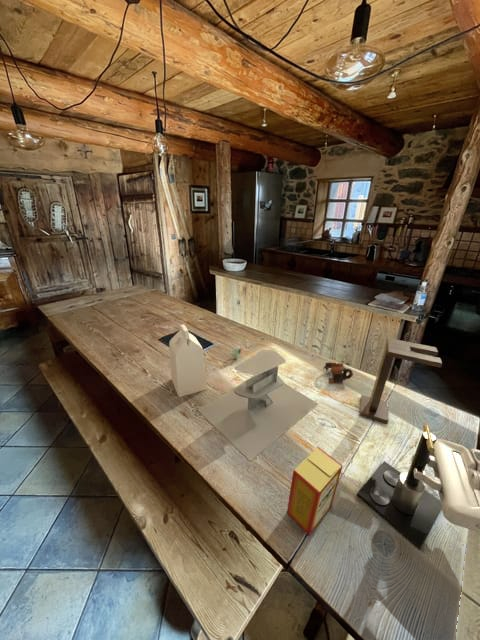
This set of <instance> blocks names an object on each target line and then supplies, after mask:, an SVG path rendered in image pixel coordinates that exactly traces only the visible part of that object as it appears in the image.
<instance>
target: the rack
mask: <svg viewBox="0 0 480 640" xmlns="http://www.w3.org/2000/svg"><path fill="white" fill-rule="evenodd" d="M438 354H439V351H438V348H437V347H436V346H431V345H426V344H421V343H416V342H411V341H405V340H400V339H396V338H390V337H387V338H386V344H385V347H384V351H383V354H382V356H381V357H382V358H381V360H380V364H379V368H378V372H377V375H376V378H375V380H374V385H373V388H372V391H371V395H370V396H367V395H363V394H361V396H360V404H359V405H360V408H359V416H361V417H364V418H367V419H371V420H374V421H377V422H381V423H383V424H387V425H388V423H389V421H390V419H389V402H388V401H385V400H382V396H383V392H384V390H385V388H386V387H385V386H386V384H387V380H388V377H389V373H390V371H391V367H392V364H393V361H394V358H396V359H399V360H403V361H409V362H414V363H418V364H422V365H427V366H432V367H436V368H442V367H443V362H442V358H441V357H438Z"/></svg>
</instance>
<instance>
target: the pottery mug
mask: <svg viewBox="0 0 480 640" xmlns="http://www.w3.org/2000/svg"><path fill="white" fill-rule="evenodd" d="M329 369H330V373H331V374H332V377H328V379H327V380H328V383H329V384H336V385H341V384H343V383H344V381H346V380H350V379H351V378H353V376H354V374H353V370H352V369H350V368H346V367H345V366H344V363H342V362H338V363H336V362H325V365H324V366H323V368H322V370H325V371H329ZM347 373H348V375H347Z"/></svg>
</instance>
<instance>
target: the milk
mask: <svg viewBox="0 0 480 640" xmlns="http://www.w3.org/2000/svg"><path fill="white" fill-rule="evenodd" d="M168 347H169V361H170V362H169V363H170V376H171V378H170V379H171V381H172V384H173V387H174V388H175V392H176V394H177V397H178V398H181V397H185V396H188V395H192V394H195V393H198V392H202V391H205V390H208V384H207V383H208V381H207V374H206V365H205V355H204V348H203V346H202V345H201V343H200V342H199V340H198V339H197V337H196V336H195V335H193V334H192V333H190V332H189V329H188V328H187V326H186V325H185V323H184V324H180V325H179V331H178V332H176V334H175V335H174V336H173V337H171V339H170V340H169V342H168Z"/></svg>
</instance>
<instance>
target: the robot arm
mask: <svg viewBox="0 0 480 640" xmlns="http://www.w3.org/2000/svg"><path fill="white" fill-rule="evenodd" d="M434 448H435V451H434V452H431V454H430V457H429V459H428V462H427V464H426V465H427V467H429V468H432V471H433V475H434V477H431V476H430V475H428V474H427V473H426V472H425V469H424V470H422V469H418V468H415V469H414V471H413V473H414V478H416V479H418V480H421V481H422V482H423V484H424V485H427V486H428V487H429V488H430V489H432V490H434V491H437V492H438V498H439V500H440V502H441V506H442V508H441V511H442V515H443V517H444V519H446V520H447V521H448V522H449V523H450V524H452V525H454V526H457V527H461V528H464V529H467V530H471V531H475V532H480V449H477V448H474V447H473V448H471V449H470V450H469V449H468V448H467V447H466V446H464V445H462V444H459V443H456V442H453V441H449V440H446V439H442V438H439V437H438V438H437V437H436V442H435V444H434ZM413 457H414V454H412V455H411V458H410V460H411V461H412V460H413Z"/></svg>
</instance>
